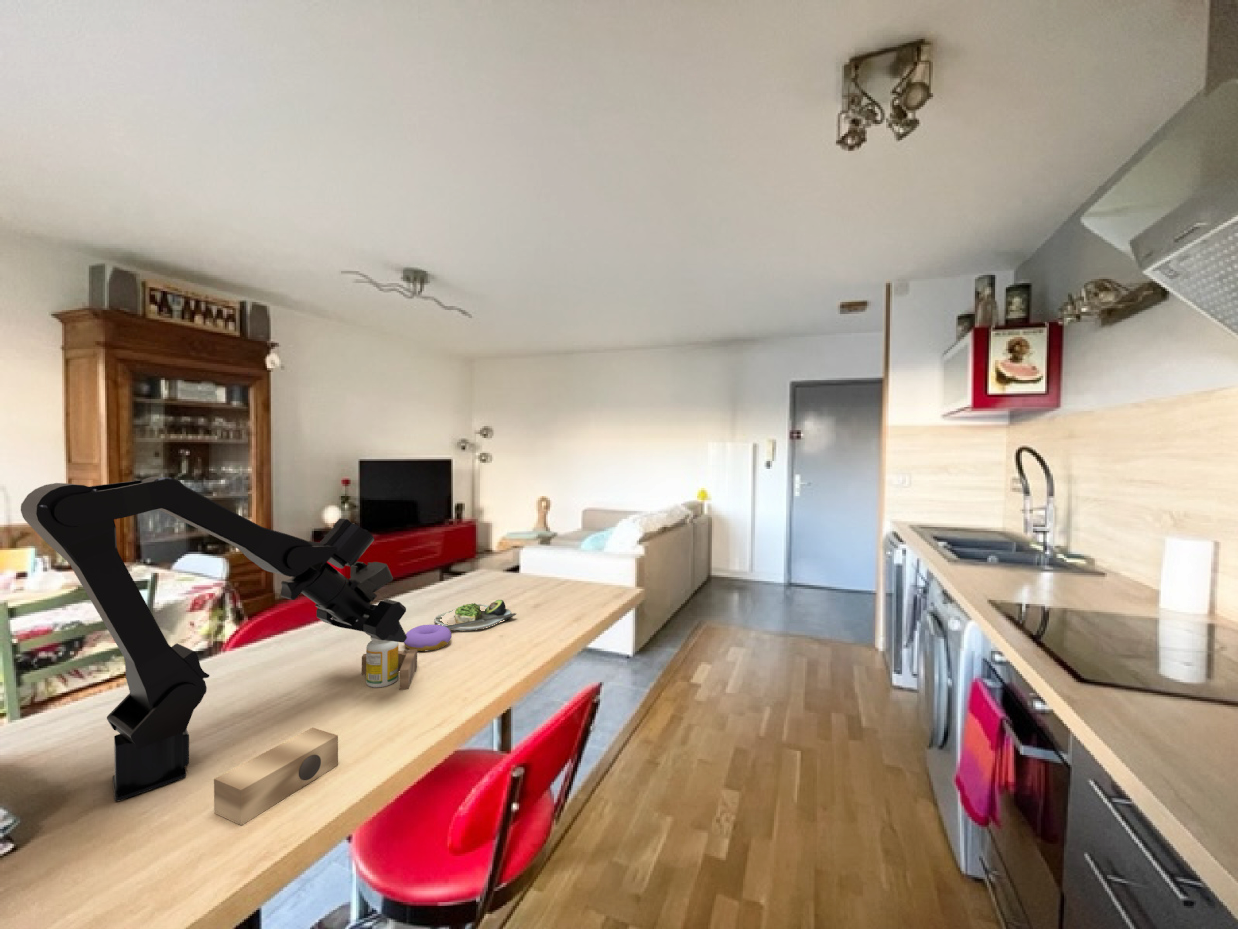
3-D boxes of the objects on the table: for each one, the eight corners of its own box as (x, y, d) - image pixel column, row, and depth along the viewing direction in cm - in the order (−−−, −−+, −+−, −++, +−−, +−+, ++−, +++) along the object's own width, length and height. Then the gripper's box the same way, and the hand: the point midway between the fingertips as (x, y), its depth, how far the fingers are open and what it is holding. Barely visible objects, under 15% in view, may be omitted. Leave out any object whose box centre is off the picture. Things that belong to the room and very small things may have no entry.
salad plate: (469, 642, 113) (469, 622, 113) (414, 629, 121) (414, 610, 121) (524, 618, 130) (524, 600, 130) (472, 608, 138) (472, 591, 138)
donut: (394, 652, 105) (396, 628, 106) (413, 645, 114) (415, 623, 115) (441, 653, 105) (443, 629, 106) (456, 646, 114) (458, 624, 115)
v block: (403, 691, 88) (403, 671, 88) (358, 674, 95) (358, 655, 95) (440, 674, 95) (440, 656, 95) (395, 659, 102) (395, 642, 102)
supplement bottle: (368, 691, 88) (367, 637, 88) (364, 679, 93) (364, 628, 93) (400, 683, 91) (400, 631, 91) (396, 672, 96) (395, 623, 96)
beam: (242, 826, 56) (242, 790, 56) (214, 813, 58) (214, 778, 58) (339, 765, 67) (339, 735, 67) (312, 756, 69) (312, 727, 69)
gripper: (396, 556, 84) (448, 605, 93) (333, 545, 93) (386, 591, 103) (350, 615, 77) (412, 661, 87) (287, 597, 87) (349, 640, 96)
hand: (390, 635), depth 93 cm, fingers open, 8 cm apart
